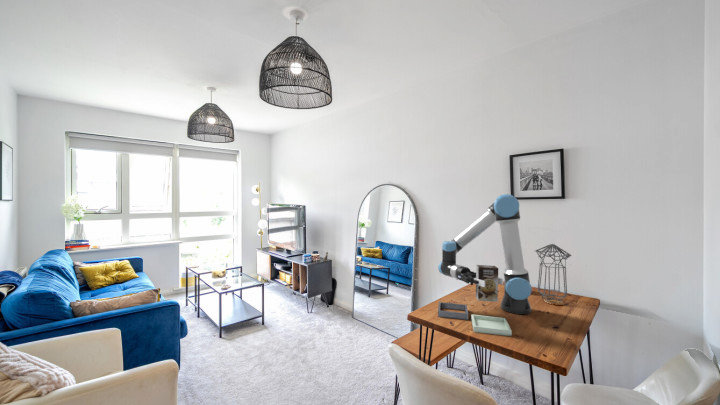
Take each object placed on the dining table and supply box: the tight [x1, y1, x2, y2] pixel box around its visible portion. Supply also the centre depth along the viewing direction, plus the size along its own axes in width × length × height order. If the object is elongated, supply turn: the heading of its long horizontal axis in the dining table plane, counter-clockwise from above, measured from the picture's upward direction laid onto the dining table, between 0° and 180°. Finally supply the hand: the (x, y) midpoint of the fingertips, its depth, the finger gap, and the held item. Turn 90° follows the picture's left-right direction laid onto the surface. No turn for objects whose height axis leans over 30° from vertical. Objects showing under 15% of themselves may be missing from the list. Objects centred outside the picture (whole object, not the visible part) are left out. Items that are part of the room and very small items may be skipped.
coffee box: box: [475, 264, 499, 303], centre depth 150 cm, size 9×6×16 cm
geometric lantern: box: [534, 243, 572, 301], centre depth 191 cm, size 16×16×35 cm
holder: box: [437, 301, 469, 321], centre depth 167 cm, size 15×15×3 cm
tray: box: [470, 314, 513, 337], centre depth 148 cm, size 16×16×2 cm
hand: (493, 283), depth 146 cm, fingers closed on coffee box, 10 cm apart
